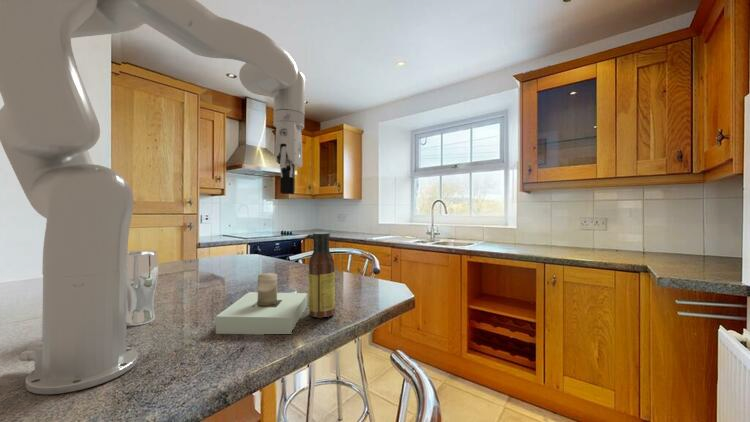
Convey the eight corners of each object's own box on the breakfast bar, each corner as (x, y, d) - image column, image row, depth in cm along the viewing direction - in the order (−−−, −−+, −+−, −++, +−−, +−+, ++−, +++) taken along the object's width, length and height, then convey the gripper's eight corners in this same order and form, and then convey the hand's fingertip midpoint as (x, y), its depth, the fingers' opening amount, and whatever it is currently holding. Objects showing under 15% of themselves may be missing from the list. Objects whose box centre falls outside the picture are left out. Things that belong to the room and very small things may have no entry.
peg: (273, 322, 71) (274, 277, 71) (253, 321, 71) (254, 277, 71) (279, 315, 75) (280, 273, 75) (260, 315, 75) (261, 273, 75)
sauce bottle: (337, 311, 79) (339, 232, 79) (331, 320, 73) (333, 234, 73) (311, 310, 80) (313, 231, 80) (303, 318, 74) (305, 233, 73)
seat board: (215, 333, 64) (215, 316, 64) (248, 305, 82) (248, 292, 82) (290, 334, 64) (290, 317, 64) (307, 306, 82) (307, 293, 82)
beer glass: (111, 323, 68) (112, 253, 68) (146, 313, 74) (148, 249, 74) (128, 329, 65) (129, 256, 65) (164, 319, 71) (165, 252, 71)
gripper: (297, 113, 73) (295, 193, 73) (309, 128, 88) (307, 195, 88) (264, 112, 73) (262, 192, 73) (282, 128, 88) (280, 194, 88)
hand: (287, 193), depth 81 cm, fingers closed
